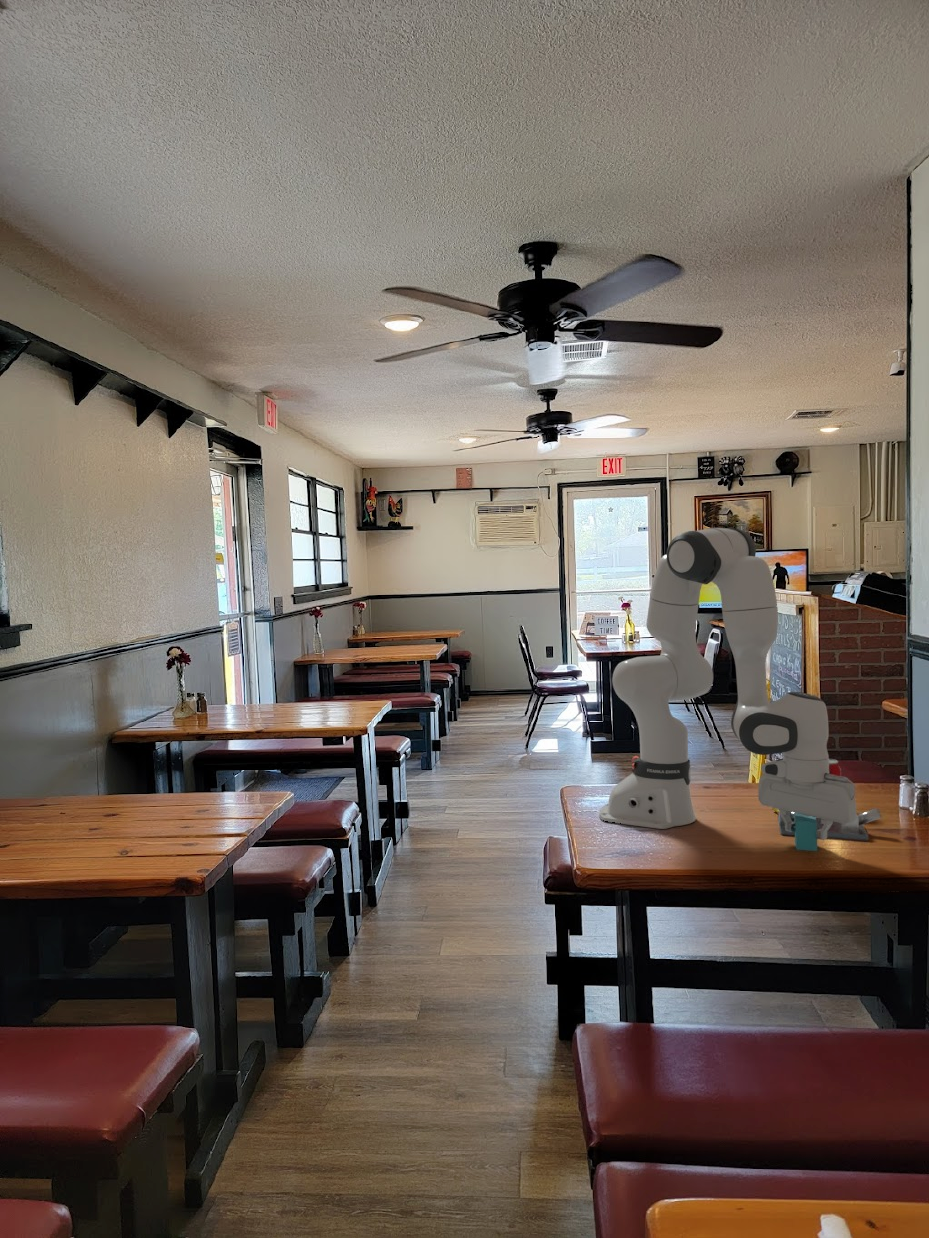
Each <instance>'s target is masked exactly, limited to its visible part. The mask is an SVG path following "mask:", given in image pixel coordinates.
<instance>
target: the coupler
mask: <svg viewBox="0 0 929 1238" xmlns="http://www.w3.org/2000/svg"><path fill="white" fill-rule="evenodd" d="M816 830H817V821H816V817H812V816H809V817H807V816H795V836H794V845H795V849H796V850H798V851H812V852H818V839H817V838H816V835H817V834H816Z"/></svg>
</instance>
